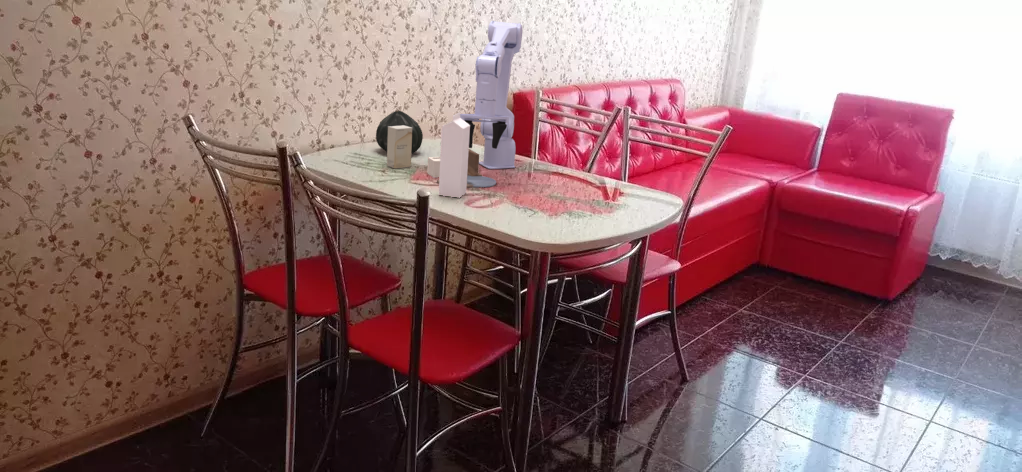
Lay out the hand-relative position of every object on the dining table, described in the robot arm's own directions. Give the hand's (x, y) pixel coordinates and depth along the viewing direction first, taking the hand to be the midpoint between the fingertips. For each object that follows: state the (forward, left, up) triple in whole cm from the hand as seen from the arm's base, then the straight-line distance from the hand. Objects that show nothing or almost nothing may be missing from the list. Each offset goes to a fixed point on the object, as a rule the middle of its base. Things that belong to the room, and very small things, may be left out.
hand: (482, 147), depth 211 cm
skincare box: (+16, -23, -11) cm, 30 cm away
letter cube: (+8, -11, -11) cm, 18 cm away
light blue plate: (0, -1, -11) cm, 11 cm away
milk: (+12, +9, -11) cm, 18 cm away
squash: (+10, -40, -11) cm, 43 cm away
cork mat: (+7, 0, -11) cm, 13 cm away
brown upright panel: (-2, -12, -11) cm, 16 cm away
